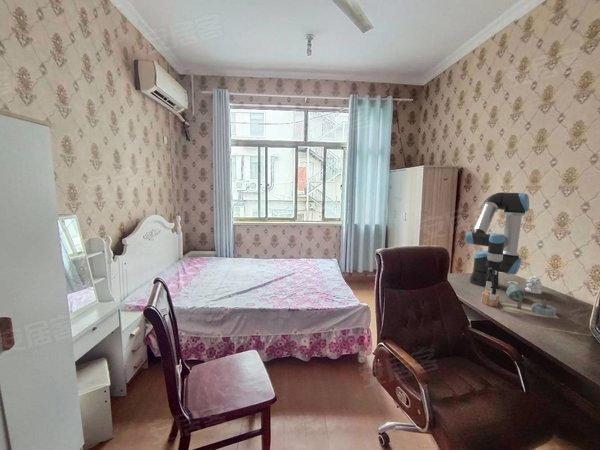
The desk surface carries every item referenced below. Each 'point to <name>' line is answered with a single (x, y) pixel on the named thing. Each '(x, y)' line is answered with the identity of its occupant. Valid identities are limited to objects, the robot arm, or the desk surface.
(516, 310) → the gear board
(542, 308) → the gear
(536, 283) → the figurine
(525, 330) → the desk surface
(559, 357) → the desk surface
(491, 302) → the loose gear
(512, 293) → the spool
